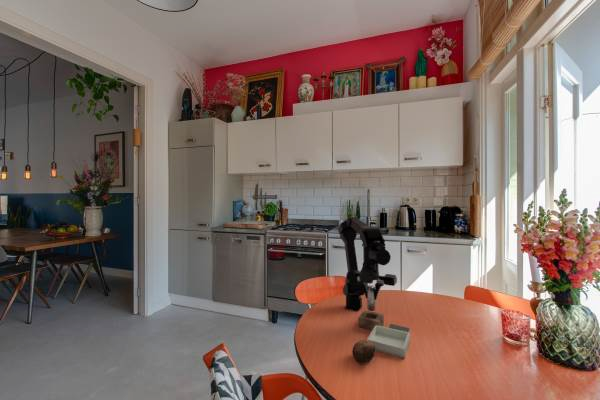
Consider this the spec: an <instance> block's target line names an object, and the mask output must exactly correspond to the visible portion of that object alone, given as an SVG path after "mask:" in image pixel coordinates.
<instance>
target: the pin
mask: <svg viewBox="0 0 600 400" xmlns="http://www.w3.org/2000/svg"><path fill="white" fill-rule="evenodd" d="M366 302H367V303H366V304H367V305H366V306H367V308H366V309H367V311H370V312H375V311H376V300H375V285H368V286H367V298H366Z"/></svg>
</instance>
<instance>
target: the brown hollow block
mask: <svg viewBox="0 0 600 400" xmlns="http://www.w3.org/2000/svg"><path fill="white" fill-rule="evenodd" d="M357 319H358V321H357V327H358V329H362V330H366V331H370V332H372V330H373V329H374V327H375V325H377V326H382V327H384V325H385V314H384V313H379V312H375V311H369V310H363V312H362V313H360V315H359V316H358V318H357Z"/></svg>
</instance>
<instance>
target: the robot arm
mask: <svg viewBox="0 0 600 400" xmlns="http://www.w3.org/2000/svg"><path fill="white" fill-rule="evenodd" d="M337 229H338V230H337V231H338V234H339V236H340V239H341V241H342V242H343V243H344V252H345V261H346V266H347V272H346V274H345V275H346V277H345V283H344V286H343V287H342V293H343V295H344V296H345V307H344V309H345V310H350V311H356V312H359V311H360V310H361V309H362V307H363V298H362V296H365V299H367V286H369V285H368V284H373V283H374V281H376V282H375V284H374V286H375V301H377V299H378V295H379V293H380V290H381V288H382V287H383V286H384V285H386V286H392V287H395V286H396V284H397V283H398V277H397V275H396V274H388V273H386V274H385V275H380V271H379V265H380V266H387V265H388V264H389V263H390V262H391V254H390V252H389V250H387V249H386V243H385V242H386V240H385V239H384V236H383V235H382V232H381V230H380V228H379V227H376V226H370V225H368V224H366V223H365V222H363V221H362V220H361V219H360V218H359V217H357V216H355V217H353V216H350V217H348V218H347V219H346V220H344V221H343V222H341V223H340V224H339V226H338V228H337ZM358 235H359V239H360V241H361V242H362V244H361V247H362V250H363V254H362V255H363V258H362V259H363V262H362V267H361V269H360V270H359V267H358V259H357V253H356V246H355V240H356V238H357V236H358Z"/></svg>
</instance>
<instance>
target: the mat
mask: <svg viewBox="0 0 600 400" xmlns="http://www.w3.org/2000/svg"><path fill="white" fill-rule="evenodd" d="M388 328H391V329H396V330H400V331H405V332H409V331H410V327H406V326H401V325H397V324H393V323H390V324H389V326H388ZM409 333H410V332H409Z"/></svg>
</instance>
